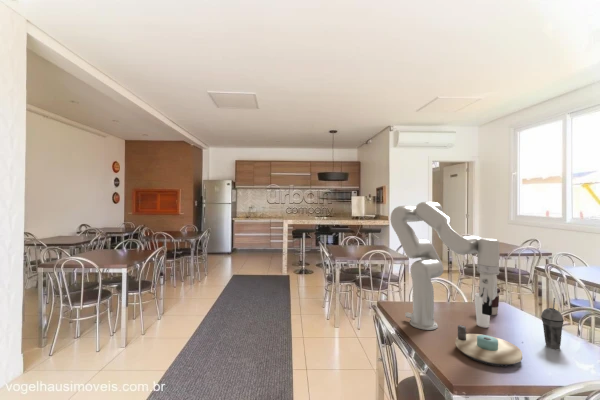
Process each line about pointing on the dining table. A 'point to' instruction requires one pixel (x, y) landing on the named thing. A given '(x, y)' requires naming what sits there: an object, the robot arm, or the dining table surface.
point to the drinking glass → (481, 318)
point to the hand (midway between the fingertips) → (486, 314)
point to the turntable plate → (503, 355)
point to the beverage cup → (552, 327)
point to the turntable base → (488, 362)
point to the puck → (487, 342)
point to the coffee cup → (495, 303)
